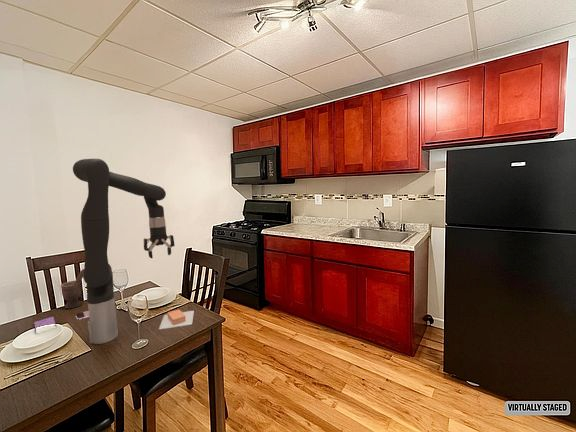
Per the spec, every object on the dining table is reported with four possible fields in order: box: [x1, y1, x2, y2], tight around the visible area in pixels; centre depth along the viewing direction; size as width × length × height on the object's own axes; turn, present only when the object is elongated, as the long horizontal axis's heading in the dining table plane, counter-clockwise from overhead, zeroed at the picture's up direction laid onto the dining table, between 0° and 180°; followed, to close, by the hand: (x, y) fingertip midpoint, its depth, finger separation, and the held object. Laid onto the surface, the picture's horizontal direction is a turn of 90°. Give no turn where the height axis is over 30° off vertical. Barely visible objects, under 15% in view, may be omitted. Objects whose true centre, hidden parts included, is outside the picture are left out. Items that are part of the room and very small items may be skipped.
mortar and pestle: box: [60, 268, 84, 309], centre depth 147 cm, size 12×9×20 cm
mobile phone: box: [75, 310, 89, 320], centre depth 139 cm, size 8×1×15 cm
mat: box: [158, 310, 195, 331], centre depth 129 cm, size 14×14×1 cm
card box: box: [167, 309, 186, 325], centre depth 128 cm, size 3×6×9 cm
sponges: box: [33, 316, 56, 329], centre depth 126 cm, size 7×13×2 cm, turn 46°
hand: (160, 256), depth 140 cm, fingers open, 8 cm apart
